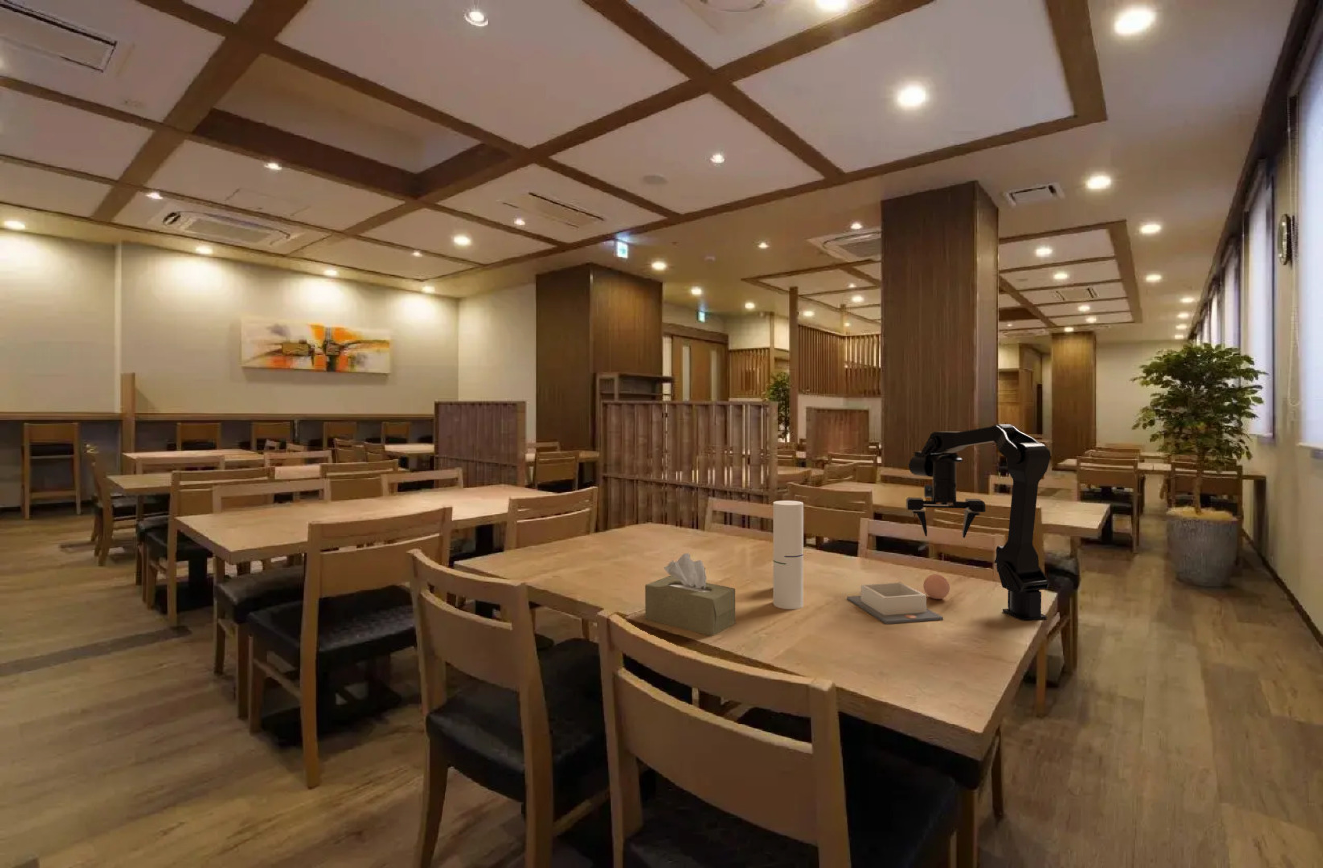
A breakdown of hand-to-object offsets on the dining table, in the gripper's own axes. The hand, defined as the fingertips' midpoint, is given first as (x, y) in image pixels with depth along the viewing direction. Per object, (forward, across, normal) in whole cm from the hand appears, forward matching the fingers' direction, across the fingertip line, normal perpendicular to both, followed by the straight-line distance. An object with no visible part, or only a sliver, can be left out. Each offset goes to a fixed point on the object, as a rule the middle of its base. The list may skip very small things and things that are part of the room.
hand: (944, 536), depth 161 cm
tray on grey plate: (+14, +14, +23) cm, 31 cm away
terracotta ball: (+10, +3, +12) cm, 16 cm away
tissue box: (+14, +58, +45) cm, 75 cm away
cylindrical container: (+14, +38, +27) cm, 49 cm away
